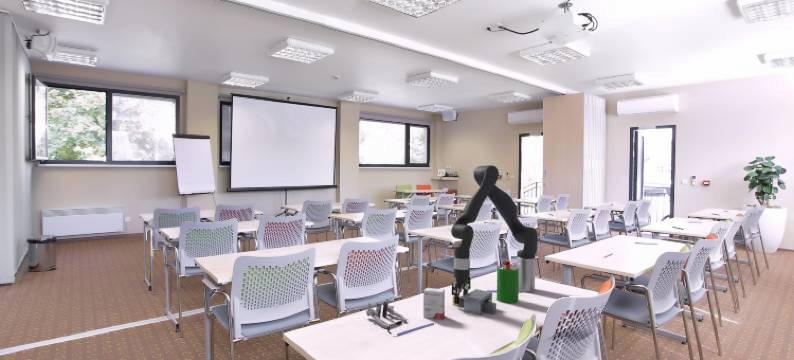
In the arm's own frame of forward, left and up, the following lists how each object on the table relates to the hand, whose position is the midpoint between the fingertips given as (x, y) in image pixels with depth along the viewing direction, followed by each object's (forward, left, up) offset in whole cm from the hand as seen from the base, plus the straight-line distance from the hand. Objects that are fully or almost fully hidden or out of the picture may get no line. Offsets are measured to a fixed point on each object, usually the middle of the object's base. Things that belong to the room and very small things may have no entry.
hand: (461, 301), depth 190 cm
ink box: (+20, -2, -2) cm, 20 cm away
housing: (0, +9, -2) cm, 9 cm away
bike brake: (+36, -14, -2) cm, 39 cm away
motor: (-20, +15, -2) cm, 25 cm away
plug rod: (0, +7, -2) cm, 7 cm away
